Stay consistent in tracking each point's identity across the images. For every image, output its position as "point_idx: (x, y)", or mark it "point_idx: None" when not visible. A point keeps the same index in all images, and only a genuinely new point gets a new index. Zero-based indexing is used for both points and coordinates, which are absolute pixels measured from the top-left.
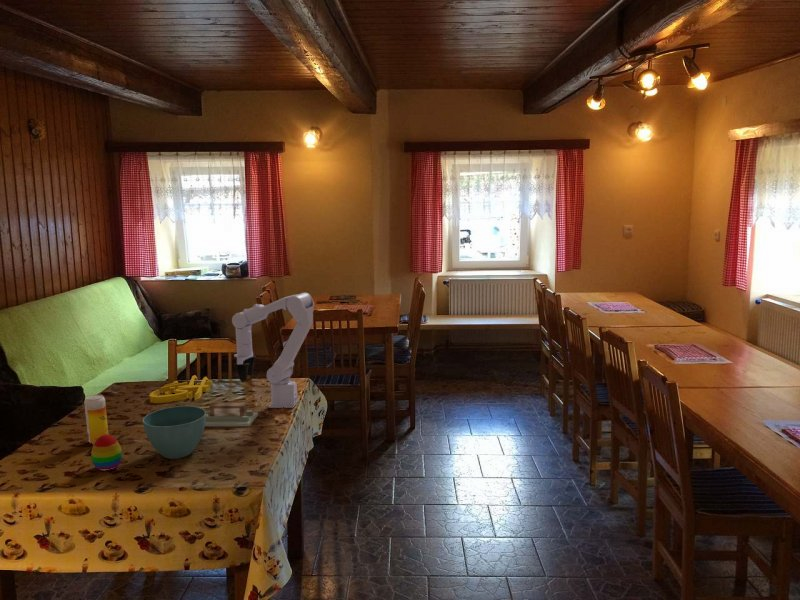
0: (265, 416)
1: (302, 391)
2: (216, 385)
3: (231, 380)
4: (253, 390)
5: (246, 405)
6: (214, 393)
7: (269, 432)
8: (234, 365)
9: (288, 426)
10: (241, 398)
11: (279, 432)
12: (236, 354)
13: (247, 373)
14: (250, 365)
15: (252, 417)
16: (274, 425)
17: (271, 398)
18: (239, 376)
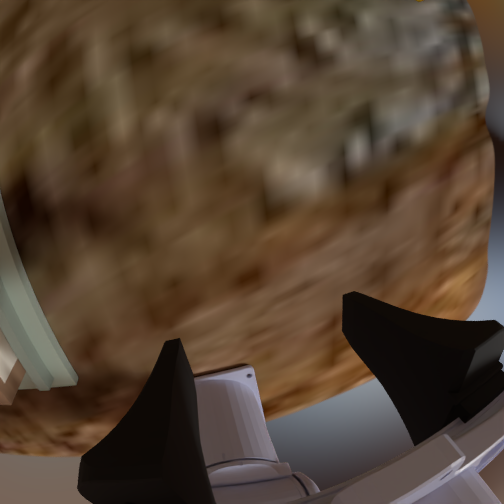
0: (83, 400)
1: (369, 380)
2: (428, 15)
3: (476, 65)
4: (397, 199)
5: (14, 396)
6: (337, 19)
7: (8, 431)
8: (80, 469)
9: (60, 456)
10: (279, 194)
11: (23, 447)
12: (417, 497)
13: (351, 312)
14: (391, 379)
15: (31, 384)
16: (44, 434)
17: (198, 404)
18: (154, 368)
